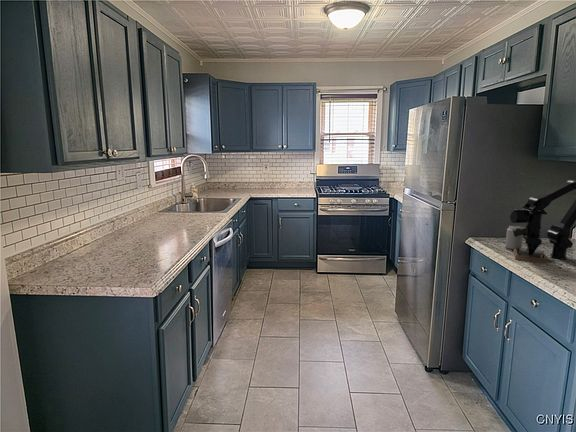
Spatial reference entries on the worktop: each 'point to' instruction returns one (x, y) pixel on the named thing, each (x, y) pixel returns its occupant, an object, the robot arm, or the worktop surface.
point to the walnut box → (533, 259)
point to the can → (513, 239)
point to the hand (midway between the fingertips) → (529, 253)
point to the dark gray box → (526, 253)
